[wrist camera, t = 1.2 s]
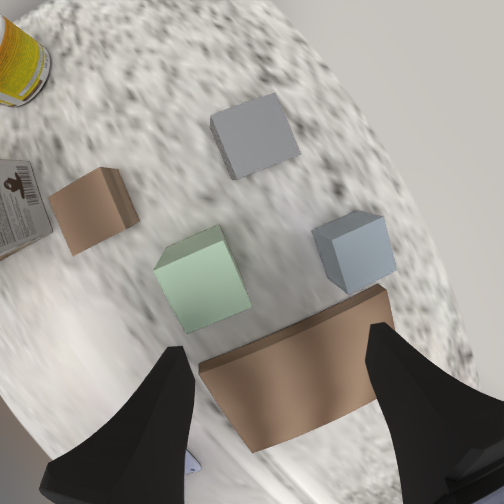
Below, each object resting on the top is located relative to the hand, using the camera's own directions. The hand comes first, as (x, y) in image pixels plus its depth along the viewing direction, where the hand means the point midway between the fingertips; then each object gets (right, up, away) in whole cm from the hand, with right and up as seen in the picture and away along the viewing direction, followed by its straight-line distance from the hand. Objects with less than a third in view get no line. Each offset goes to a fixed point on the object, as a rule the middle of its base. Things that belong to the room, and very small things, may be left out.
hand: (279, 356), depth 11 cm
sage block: (-4, +3, +11) cm, 12 cm away
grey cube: (-1, +11, +9) cm, 15 cm away
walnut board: (+4, -7, +14) cm, 16 cm away
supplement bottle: (-19, +18, +5) cm, 27 cm away
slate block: (+6, +5, +12) cm, 14 cm away
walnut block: (-11, +7, +9) cm, 16 cm away
